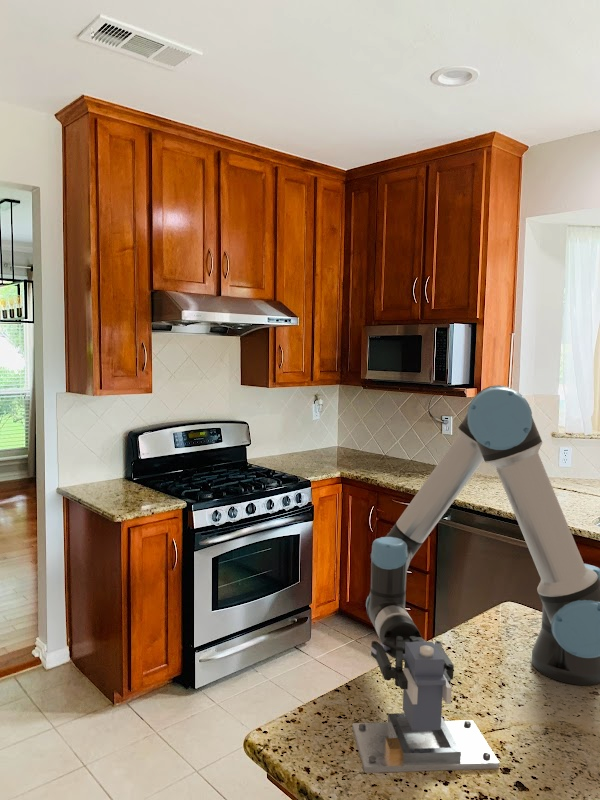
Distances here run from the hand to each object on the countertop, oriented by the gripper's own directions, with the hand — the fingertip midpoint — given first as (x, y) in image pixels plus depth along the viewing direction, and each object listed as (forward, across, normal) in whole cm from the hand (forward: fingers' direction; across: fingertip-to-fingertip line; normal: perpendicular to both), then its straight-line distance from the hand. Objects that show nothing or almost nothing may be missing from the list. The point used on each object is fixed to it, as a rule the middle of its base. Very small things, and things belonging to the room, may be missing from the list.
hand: (432, 695), depth 100 cm
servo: (-5, 0, -7) cm, 9 cm away
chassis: (-5, 0, -12) cm, 13 cm away
